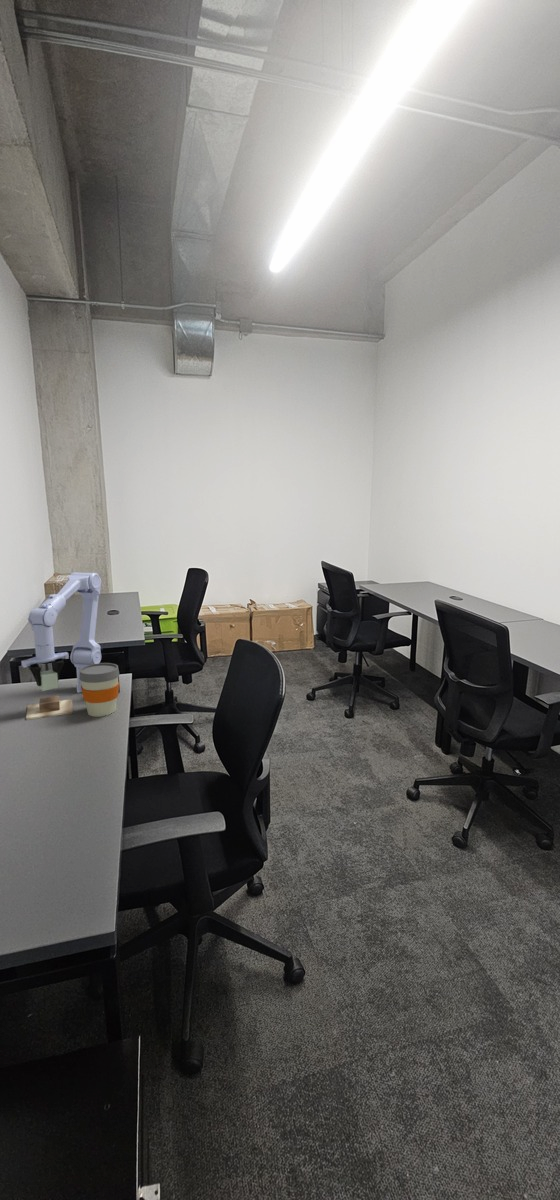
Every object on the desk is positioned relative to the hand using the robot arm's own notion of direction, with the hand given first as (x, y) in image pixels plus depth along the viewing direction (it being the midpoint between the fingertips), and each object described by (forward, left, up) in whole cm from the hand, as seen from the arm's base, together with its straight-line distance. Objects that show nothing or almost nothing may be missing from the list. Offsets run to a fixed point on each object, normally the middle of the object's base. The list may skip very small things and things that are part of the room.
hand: (47, 683), depth 169 cm
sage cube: (0, 0, -2) cm, 2 cm away
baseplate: (0, 0, -9) cm, 9 cm away
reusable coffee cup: (-16, +8, -10) cm, 20 cm away
